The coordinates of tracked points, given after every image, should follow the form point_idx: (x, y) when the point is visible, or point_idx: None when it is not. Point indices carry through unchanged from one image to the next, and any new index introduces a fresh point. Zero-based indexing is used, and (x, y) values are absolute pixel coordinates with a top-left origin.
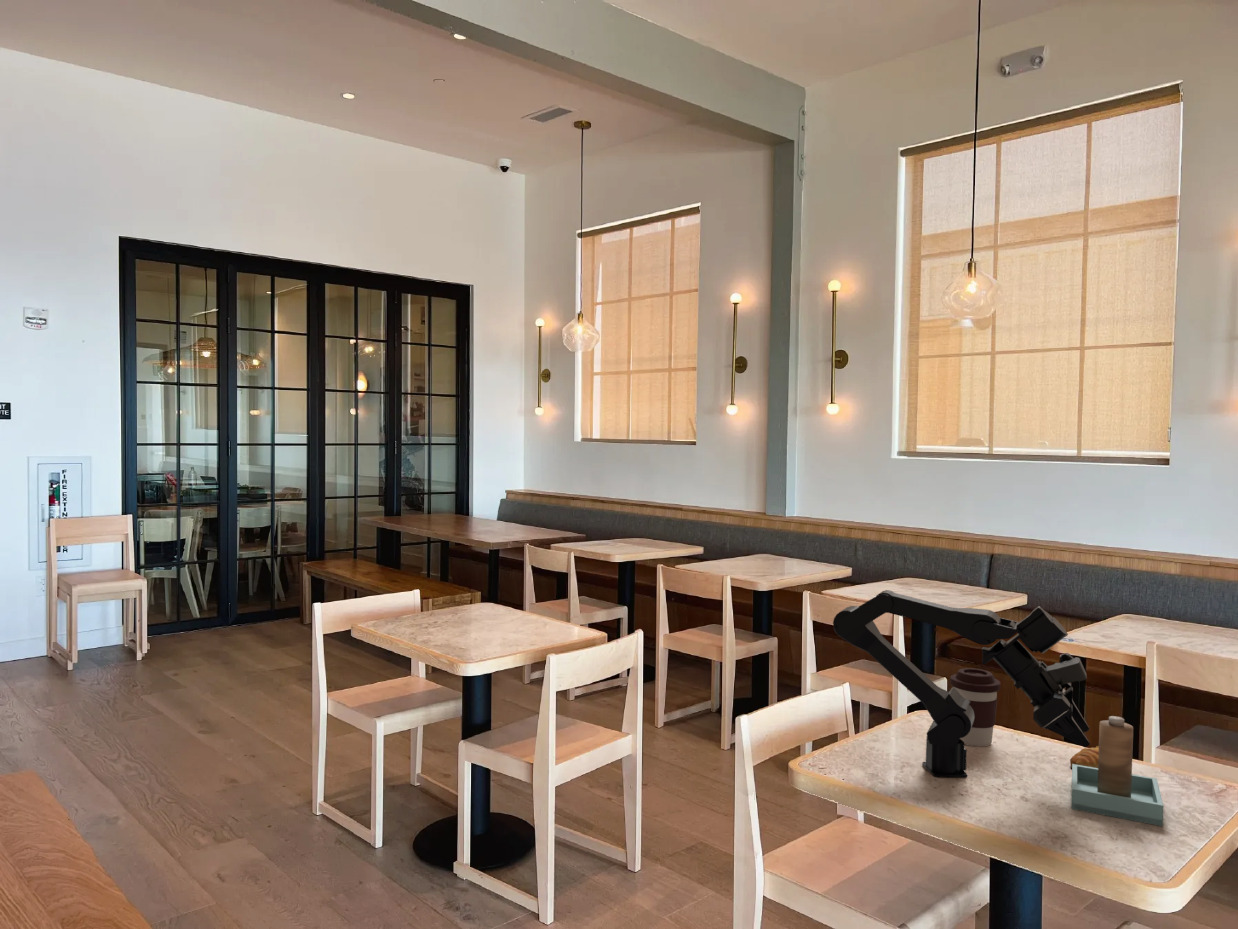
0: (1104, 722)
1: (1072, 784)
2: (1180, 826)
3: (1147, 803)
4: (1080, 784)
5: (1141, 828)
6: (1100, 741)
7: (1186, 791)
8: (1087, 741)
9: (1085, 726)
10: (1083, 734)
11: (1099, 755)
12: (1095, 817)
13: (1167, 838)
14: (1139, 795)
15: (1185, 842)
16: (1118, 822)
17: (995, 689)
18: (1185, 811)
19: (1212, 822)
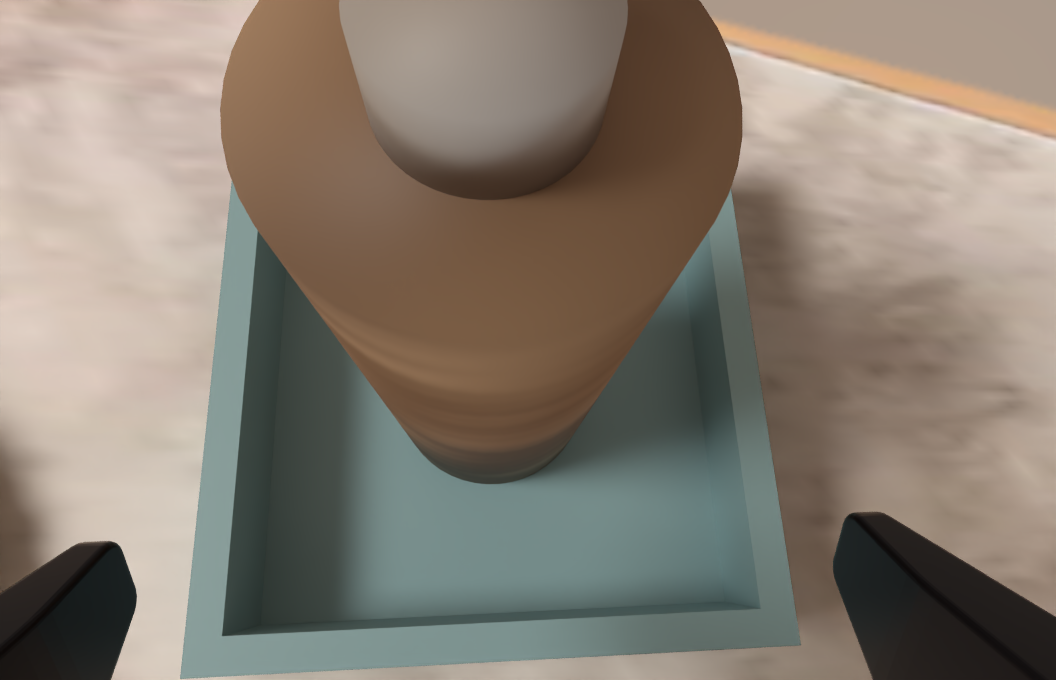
0: (431, 259)
1: (695, 648)
2: None
3: (729, 201)
4: (357, 594)
5: (779, 278)
6: (567, 392)
7: (99, 67)
8: (920, 542)
9: (86, 602)
10: (1028, 610)
11: (540, 432)
12: (784, 490)
13: (824, 182)
14: None
15: (817, 121)
16: (774, 377)
17: None
18: None
19: None
